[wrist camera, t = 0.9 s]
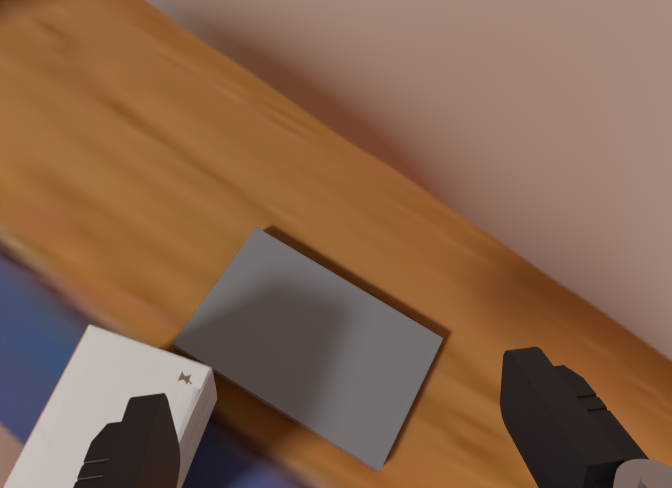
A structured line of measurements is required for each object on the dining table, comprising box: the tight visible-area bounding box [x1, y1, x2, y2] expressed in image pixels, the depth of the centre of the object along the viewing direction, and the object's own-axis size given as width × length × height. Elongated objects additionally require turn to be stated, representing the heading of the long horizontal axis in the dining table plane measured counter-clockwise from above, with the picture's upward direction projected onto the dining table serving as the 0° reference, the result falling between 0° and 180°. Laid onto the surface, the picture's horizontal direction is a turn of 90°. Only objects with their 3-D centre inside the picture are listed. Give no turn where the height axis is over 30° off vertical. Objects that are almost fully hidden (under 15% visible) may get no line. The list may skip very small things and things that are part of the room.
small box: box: [2, 325, 217, 488], centre depth 26 cm, size 8×6×10 cm
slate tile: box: [173, 227, 443, 472], centre depth 34 cm, size 14×9×1 cm, turn 61°
